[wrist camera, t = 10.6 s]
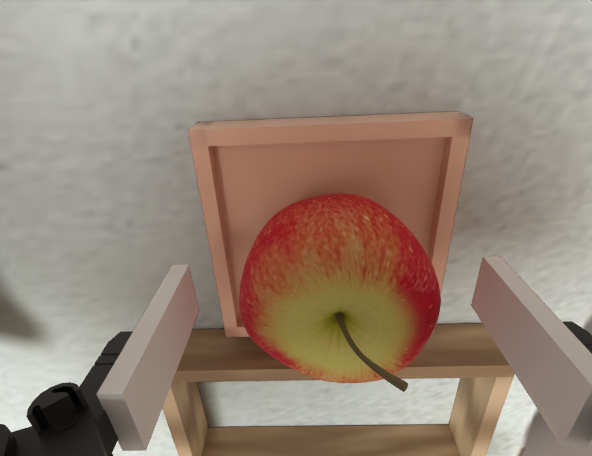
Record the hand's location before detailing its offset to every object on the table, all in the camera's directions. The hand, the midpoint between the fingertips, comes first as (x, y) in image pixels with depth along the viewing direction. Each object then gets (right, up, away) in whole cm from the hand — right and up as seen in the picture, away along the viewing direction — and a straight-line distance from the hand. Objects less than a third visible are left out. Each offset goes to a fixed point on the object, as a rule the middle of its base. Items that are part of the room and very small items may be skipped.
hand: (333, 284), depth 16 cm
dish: (0, +2, +5) cm, 5 cm away
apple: (0, +2, +4) cm, 4 cm away
